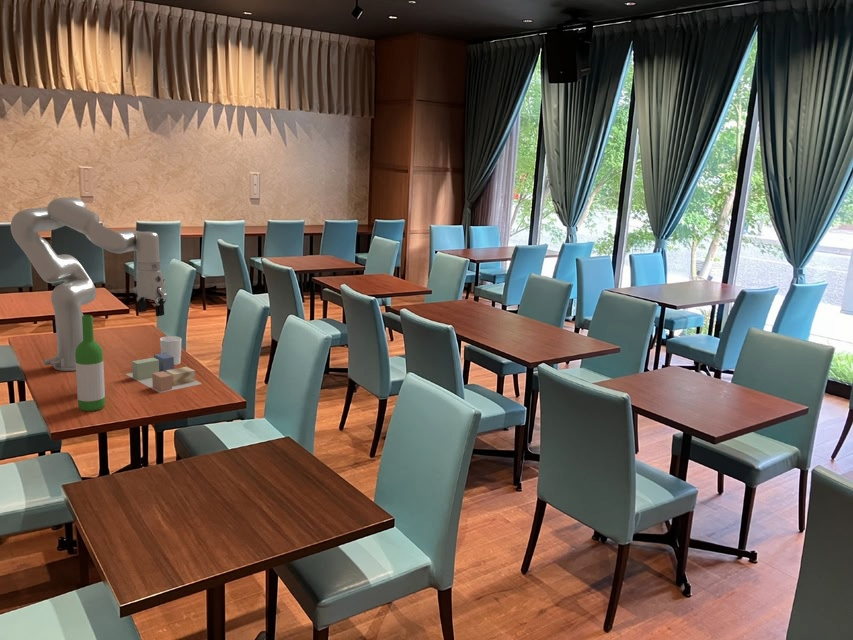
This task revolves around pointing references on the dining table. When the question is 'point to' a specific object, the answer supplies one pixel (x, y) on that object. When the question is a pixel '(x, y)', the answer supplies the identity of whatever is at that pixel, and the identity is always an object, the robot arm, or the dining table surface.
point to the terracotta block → (162, 381)
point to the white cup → (171, 347)
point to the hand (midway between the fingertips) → (151, 313)
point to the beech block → (182, 375)
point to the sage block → (145, 368)
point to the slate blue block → (165, 361)
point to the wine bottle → (89, 369)
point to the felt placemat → (149, 383)
